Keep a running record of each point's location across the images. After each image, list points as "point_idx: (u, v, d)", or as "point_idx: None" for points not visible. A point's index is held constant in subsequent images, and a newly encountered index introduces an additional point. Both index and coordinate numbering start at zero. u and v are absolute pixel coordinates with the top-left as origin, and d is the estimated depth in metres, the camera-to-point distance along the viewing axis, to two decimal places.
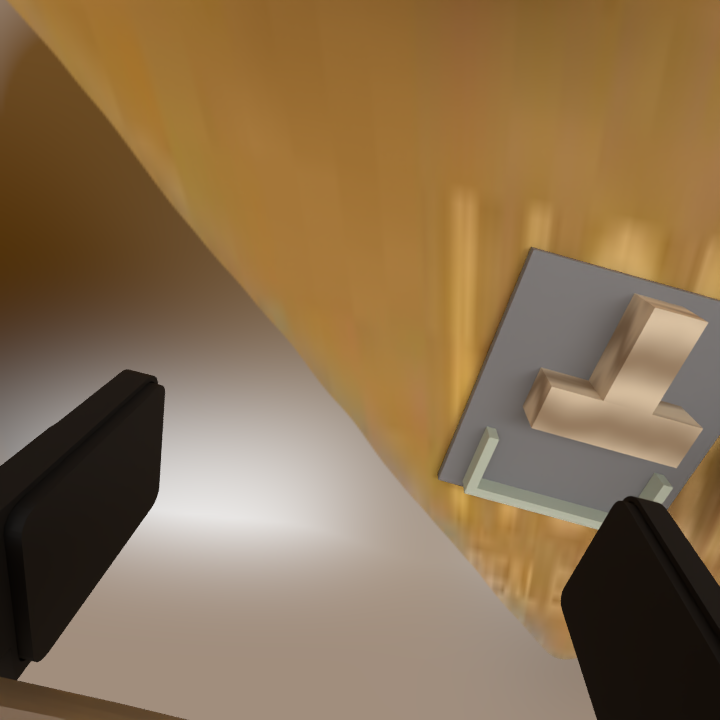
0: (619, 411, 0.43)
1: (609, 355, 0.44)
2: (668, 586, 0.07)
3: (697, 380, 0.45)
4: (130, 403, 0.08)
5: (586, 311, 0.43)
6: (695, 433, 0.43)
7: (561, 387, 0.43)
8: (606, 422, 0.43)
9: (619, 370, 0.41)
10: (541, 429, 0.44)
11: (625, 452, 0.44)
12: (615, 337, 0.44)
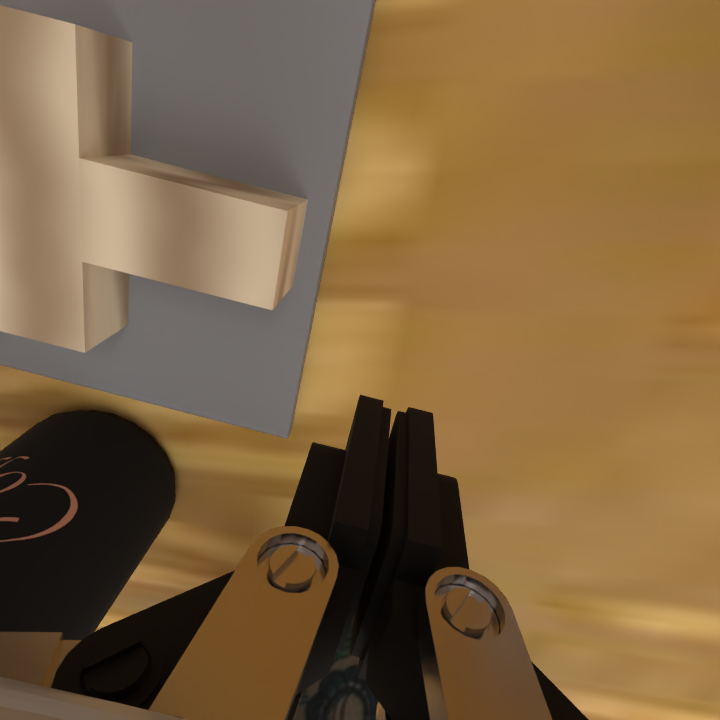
0: (67, 199, 0.21)
1: (184, 173, 0.23)
2: (395, 467, 0.09)
3: (177, 337, 0.28)
4: (382, 427, 0.09)
5: (262, 116, 0.22)
6: (72, 343, 0.24)
7: (83, 57, 0.19)
8: (35, 177, 0.21)
9: (151, 175, 0.20)
10: None
11: None
12: (222, 180, 0.23)
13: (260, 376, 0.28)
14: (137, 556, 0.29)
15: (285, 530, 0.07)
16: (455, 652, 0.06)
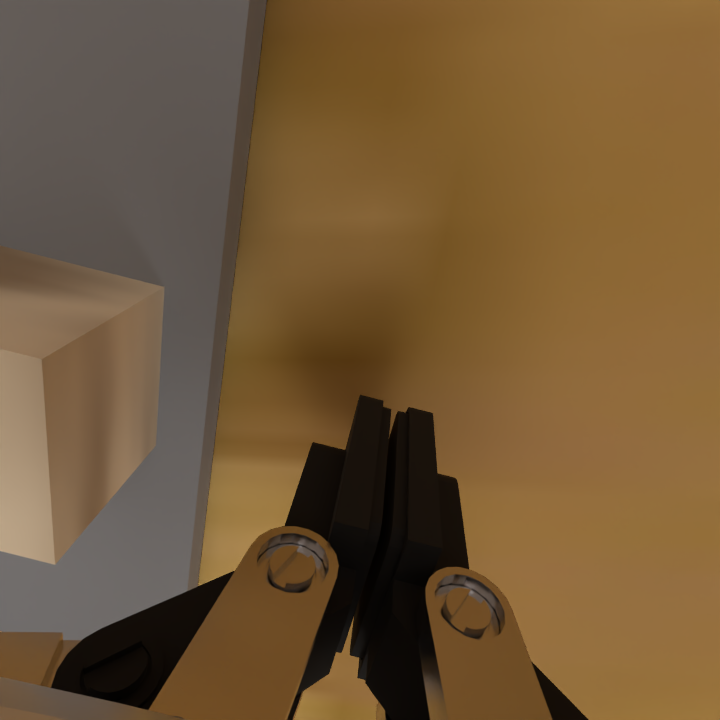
0: None
1: None
2: (395, 467, 0.09)
3: None
4: (382, 426, 0.09)
5: (40, 106, 0.10)
6: None
7: None
8: None
9: None
10: None
11: None
12: None
13: (118, 587, 0.15)
14: None
15: (285, 530, 0.07)
16: (455, 652, 0.06)
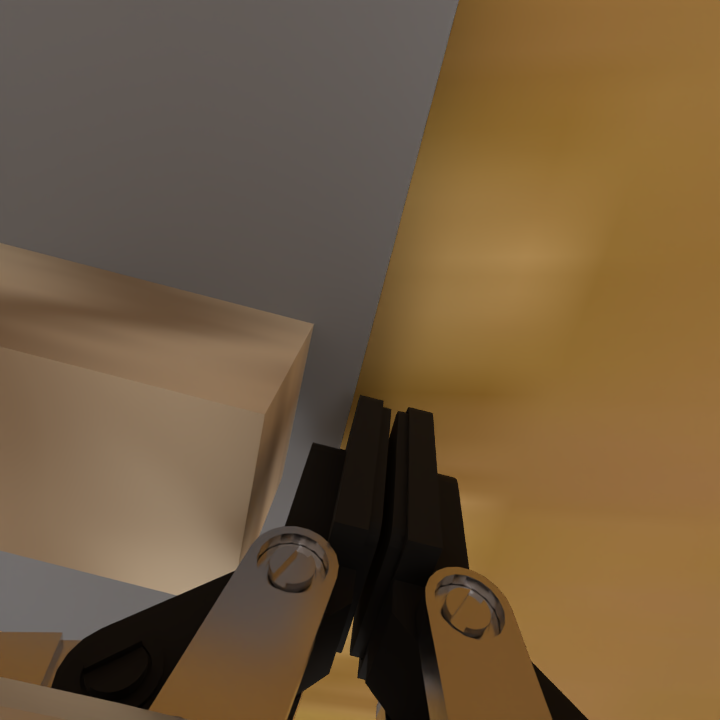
0: None
1: (29, 275, 0.10)
2: (395, 467, 0.09)
3: None
4: (382, 426, 0.09)
5: (213, 147, 0.10)
6: None
7: None
8: None
9: None
10: None
11: None
12: (123, 286, 0.10)
13: None
14: None
15: (285, 530, 0.07)
16: (455, 652, 0.06)
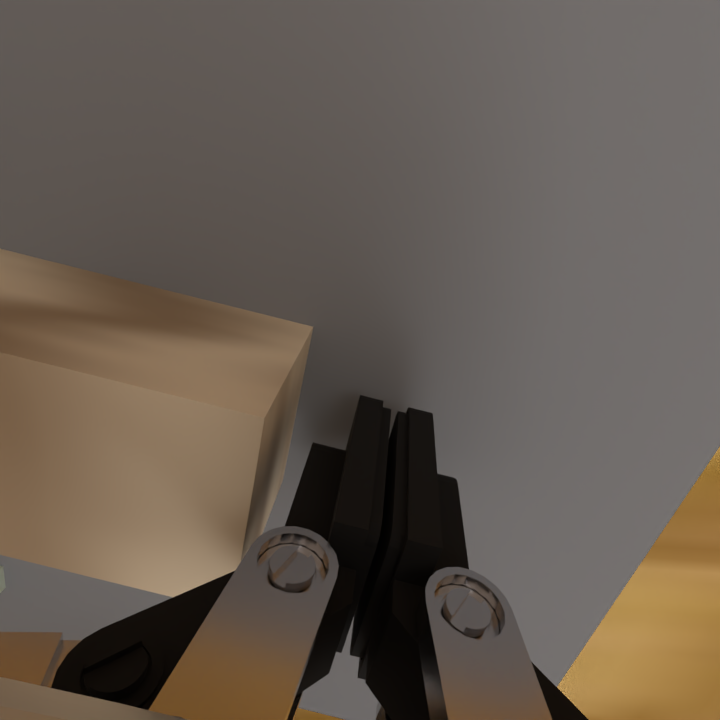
0: None
1: (29, 281, 0.10)
2: (395, 467, 0.09)
3: None
4: (382, 427, 0.09)
5: (625, 256, 0.10)
6: None
7: None
8: None
9: None
10: None
11: None
12: (123, 290, 0.10)
13: None
14: None
15: (285, 530, 0.07)
16: (455, 652, 0.06)
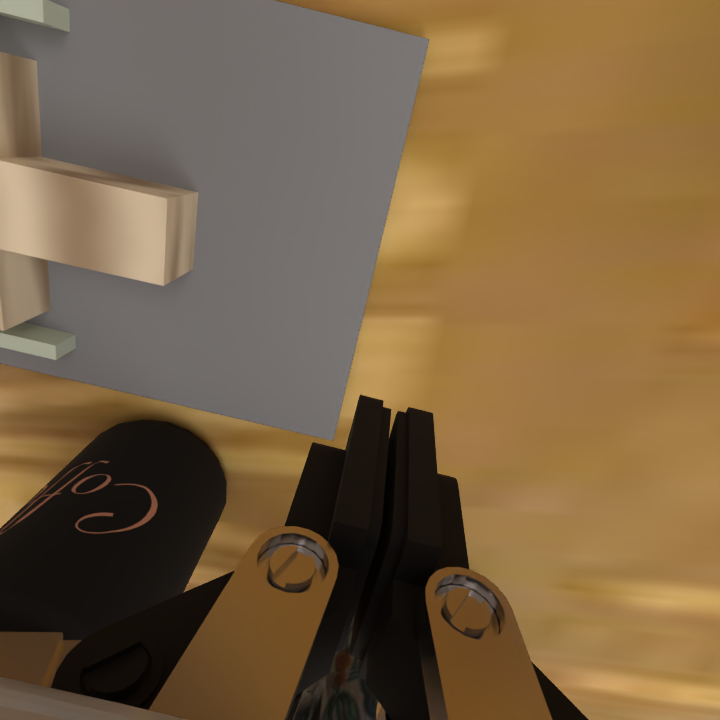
0: None
1: (86, 170, 0.26)
2: (394, 467, 0.09)
3: (237, 352, 0.31)
4: (382, 426, 0.09)
5: (325, 162, 0.26)
6: None
7: None
8: None
9: (50, 171, 0.24)
10: None
11: None
12: (121, 176, 0.27)
13: (311, 385, 0.32)
14: (201, 550, 0.31)
15: (285, 530, 0.07)
16: (455, 652, 0.06)
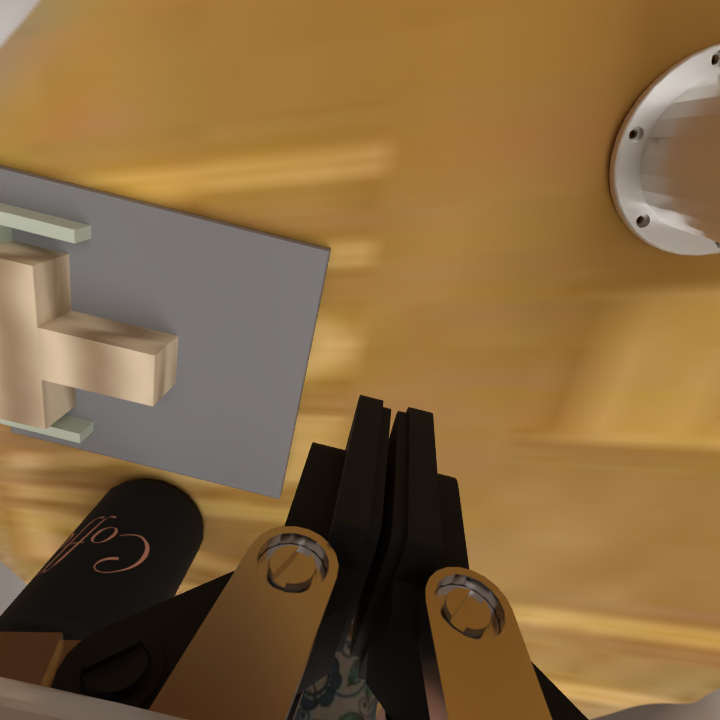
0: (31, 347, 0.37)
1: (101, 325, 0.38)
2: (395, 467, 0.08)
3: (208, 437, 0.43)
4: (382, 426, 0.09)
5: (264, 320, 0.38)
6: (37, 424, 0.40)
7: (38, 278, 0.35)
8: (13, 336, 0.36)
9: (78, 336, 0.36)
10: None
11: None
12: (125, 326, 0.39)
13: (262, 461, 0.44)
14: (182, 577, 0.44)
15: (285, 530, 0.07)
16: (455, 652, 0.06)
